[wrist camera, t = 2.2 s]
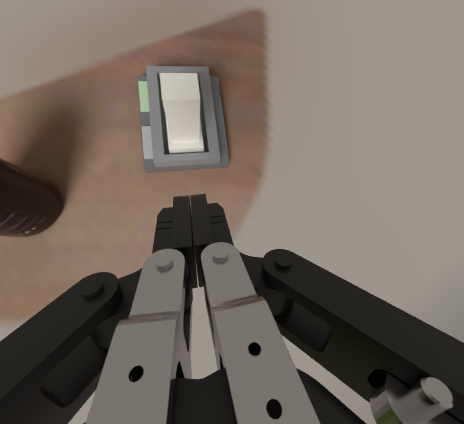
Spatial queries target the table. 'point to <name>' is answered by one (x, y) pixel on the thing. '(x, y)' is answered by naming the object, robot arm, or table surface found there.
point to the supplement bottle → (26, 202)
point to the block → (182, 112)
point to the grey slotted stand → (156, 127)
